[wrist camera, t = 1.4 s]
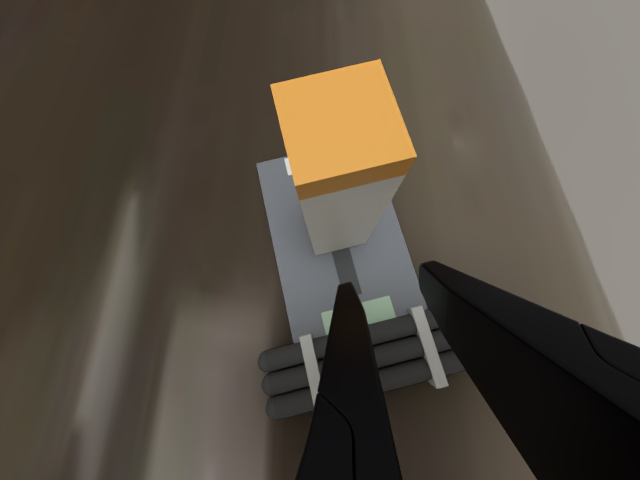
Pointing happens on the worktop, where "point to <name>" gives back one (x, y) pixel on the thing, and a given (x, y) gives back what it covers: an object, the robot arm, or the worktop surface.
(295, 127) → the orange-topped grey block
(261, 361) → the cord bundle
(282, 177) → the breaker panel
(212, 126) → the worktop surface
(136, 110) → the worktop surface
